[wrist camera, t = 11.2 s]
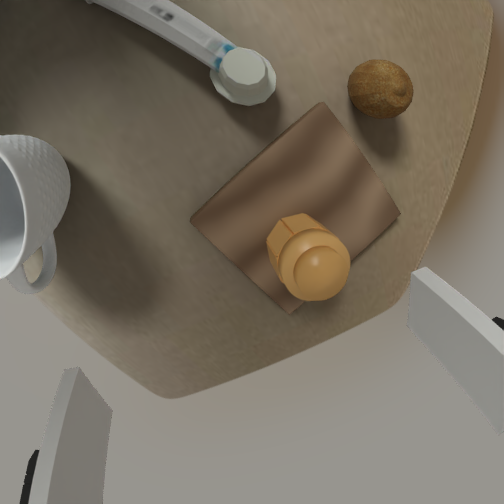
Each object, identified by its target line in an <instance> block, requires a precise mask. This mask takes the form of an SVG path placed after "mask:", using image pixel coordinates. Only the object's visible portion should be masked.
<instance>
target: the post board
mask: <svg viewBox="0 0 504 504" xmlns="http://www.w3.org/2000/svg"><path fill="white" fill-rule="evenodd" d="M301 213H304V214H307V215H308V216H310V217H312V218H313V219H315V220H316V221H318V222H319V223H321V224H322V225H323V226H324V227H326V228H327V229H328V230H329V231H330V232H332V233H333V234H334V235H335V236H336V237H338V238H339V240H340V242H342V243H343V244H344V246H345V247H346V248H347V250H348V253H349V256H350V262H351V261H352V260H353V259H354V258H355V257H356V256H357V255H358V254H359V253H360V252H362V251H363V250H364V249H365V248H366V247H367V246H368V245H369V244H370V243H371V242H372V241H373V240H374V239H375V238H377V237H378V236H379V235H380V234H381V233H382V232H383V231H384V230H385V229H386V228H387V227H388V226H389V225H390V224H391V223H392V222H393V221H394V220H395V219H396V218H397V217H398V216H399V215H400V214H401V213H400V211H399V210H398V208H397V206H396V205H395V203H394V201H393V200H392V198H391V196H390V195H389V193H388V192H387V190H386V188H385V187H384V185H383V184H382V182H381V181H380V179H379V178H378V176H377V174H376V173H375V171H374V170H373V168H372V167H371V165H370V164H369V163H368V161H367V160H366V158H365V157H364V155H363V154H362V152H361V151H360V149H359V148H358V147H357V145H356V144H355V142H354V141H353V140H352V138H351V137H350V135H349V134H348V133H347V131H346V130H345V129H344V127H343V126H342V125H341V123H340V122H339V121H338V119H337V118H336V117H335V115H334V114H333V113H332V112H331V110H330V109H329V108H328V106H327V105H326V104H325V103H324V102H320V103H318V104H316V105H315V106H314V107H313V108H312V109H310V110H309V111H308V112H307V113H306V114H304V115H303V116H302V117H301V118H300V119H298V120H297V121H296V122H295V123H294V124H292V125H291V126H290V127H289V128H288V129H287V130H285V131H284V132H283V133H282V134H281V135H280V136H279V137H277V138H276V139H275V140H274V141H273V142H272V143H271V144H269V145H268V146H267V147H266V148H265V149H264V150H263V151H261V152H260V153H259V154H258V155H257V156H256V157H255V158H254V159H253V160H251V161H250V162H249V163H248V164H247V165H246V166H245V167H244V168H243V169H241V170H240V171H239V172H238V173H237V174H236V175H235V176H234V177H233V178H232V179H231V180H230V181H228V182H227V183H226V184H225V185H224V186H223V187H222V188H221V189H220V190H219V191H218V192H217V193H216V194H215V195H214V196H213V197H211V198H210V199H209V200H208V201H207V202H206V203H205V204H204V205H203V206H202V207H201V208H200V209H199V210H198V211H197V212H196V213H195V214H194V215H193V216H192V217H191V218H190V223H191V224H192V225H194V226H195V227H196V228H197V229H198V230H199V231H200V232H201V233H202V234H203V235H204V236H205V237H206V238H207V239H208V240H209V241H210V242H211V243H213V244H214V245H215V246H216V247H217V248H218V249H219V250H220V251H221V252H222V253H223V254H224V255H225V256H226V257H227V258H229V259H230V260H231V261H232V262H233V263H234V264H235V265H236V266H237V267H238V268H239V269H240V270H241V271H242V272H244V273H245V274H246V275H247V276H248V277H249V278H250V279H251V280H252V281H253V282H254V283H255V284H256V285H258V286H259V287H260V288H261V289H262V290H263V291H264V292H265V293H266V294H267V295H268V296H269V297H271V298H272V299H273V300H274V301H275V302H276V303H277V304H278V305H279V306H280V307H281V308H283V309H284V310H285V311H286V312H287V313H288V314H289V315H290V314H291V313H292V312H293V311H295V310H296V309H297V308H298V307H299V306H300V305H302V304H303V303H304V302H305V301H306V300H301V299H299V298H297V297H295V296H294V295H292V294H291V293H290V292H289V290H288V289H287V287H286V285H285V284H284V283H282V282H281V281H280V279H279V277H278V275H277V273H276V271H275V270H274V268H273V266H272V264H271V262H270V258H269V253H268V248H267V243H266V241H267V237H268V236H269V234H270V233H271V231H272V230H273V228H274V227H275V225H276V224H277V222H278V221H279V220H281V218H285V217H289V216H293V215H297V214H301ZM281 221H282V220H281Z"/></svg>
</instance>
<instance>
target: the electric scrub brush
mask: <svg viewBox="0 0 504 504" xmlns="http://www.w3.org/2000/svg"><path fill="white" fill-rule="evenodd" d="M85 1H86V2H87V3H89V4H91V3H96V4H98V5H101V6H103V7H105V8H107V9H109V10H111V11H113V12H115V13H117V14H119V15H121V16H123V17H125V18H127V19H129V20H131V21H133V22H134V23H136V24H138V25H140V26H142V27H144V28H146V29H147V30H149V31H151V32H153V33H155V34H156V35H158V36H160V37H162V38H163V39H165V40H167V41H168V42H170V43H172V44H173V45H175V46H177V47H178V48H180V49H182V50H183V51H185V52H187V53H188V54H190V55H191V56H193V57H195V58H196V59H198V60H199V61H201V62H202V63H204V64H206V65H207V66H209V67H210V78H211V80H212V82H213V84H214V86H215V88H216V90H217V92H218V93H220V94H221V95H222V96H224V97H225V98H226V99H228V100H229V101H230V102H232V103H237V104H241V105H246V106H252V105H256V104H260V103H264V102H265V101H266V100H267V99H268V98H269V97H270V96H271V95H272V93H273V92H274V91H275V84H276V74H275V72H274V70H273V68H272V66H271V64H270V63H269V61H268V60H267V59H265V58H264V57H263V56H261V55H260V54H259V53H257V52H256V51H254V50H250V49H246V48H241V47H237V46H236V45H234V44H233V43H232V42H230V41H229V40H227V39H226V38H225V37H223V36H222V35H221V34H219V33H218V32H216V31H215V30H213V29H212V28H211V27H209V26H208V25H206V24H205V23H203V22H202V21H200V20H199V19H197V18H196V17H194V16H193V15H191V14H190V13H188V12H187V11H185V10H183V9H182V8H180V7H179V6H177V5H175V4H174V3H172V2H171V1H169V0H85Z"/></svg>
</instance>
